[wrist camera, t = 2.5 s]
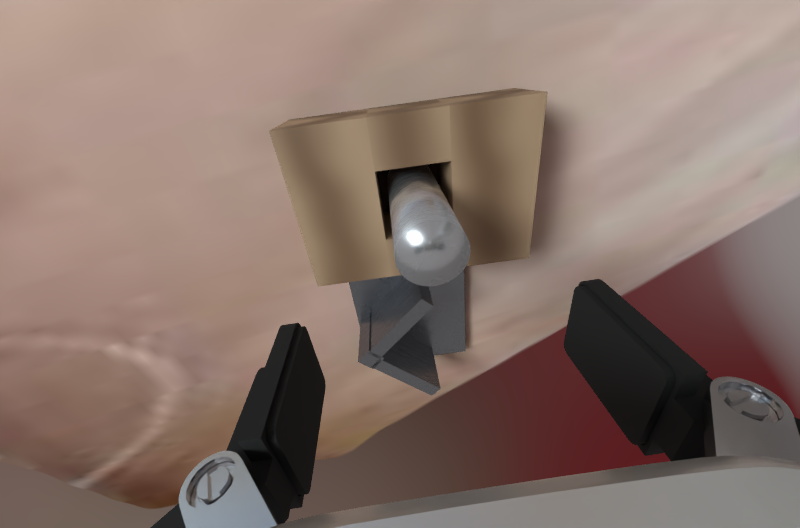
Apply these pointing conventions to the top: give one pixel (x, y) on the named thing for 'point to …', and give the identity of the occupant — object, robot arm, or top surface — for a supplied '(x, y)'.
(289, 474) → the robot arm
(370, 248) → the wooden block with hole
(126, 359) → the top surface
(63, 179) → the top surface
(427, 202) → the axle
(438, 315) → the v block
